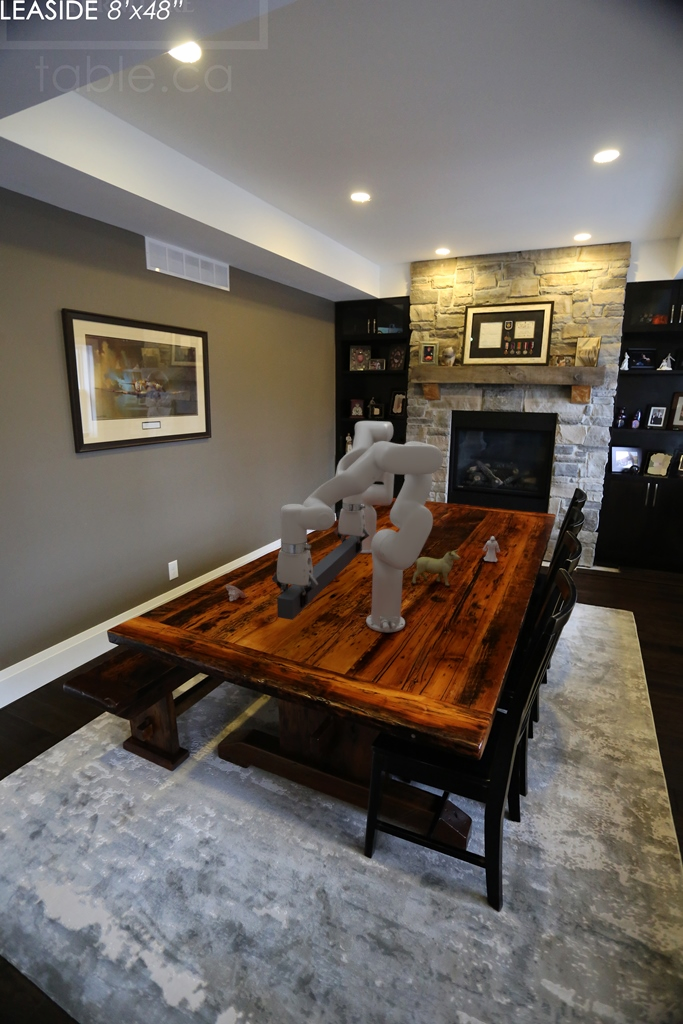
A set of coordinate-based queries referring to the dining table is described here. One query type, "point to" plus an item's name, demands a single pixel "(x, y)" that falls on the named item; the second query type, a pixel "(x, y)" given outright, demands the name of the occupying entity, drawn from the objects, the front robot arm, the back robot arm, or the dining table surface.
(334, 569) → the post
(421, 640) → the dining table surface
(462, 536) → the dining table surface
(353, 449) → the back robot arm
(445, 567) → the toy
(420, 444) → the front robot arm
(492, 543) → the figurine
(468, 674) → the dining table surface
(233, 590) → the white irregular piece
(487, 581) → the dining table surface
